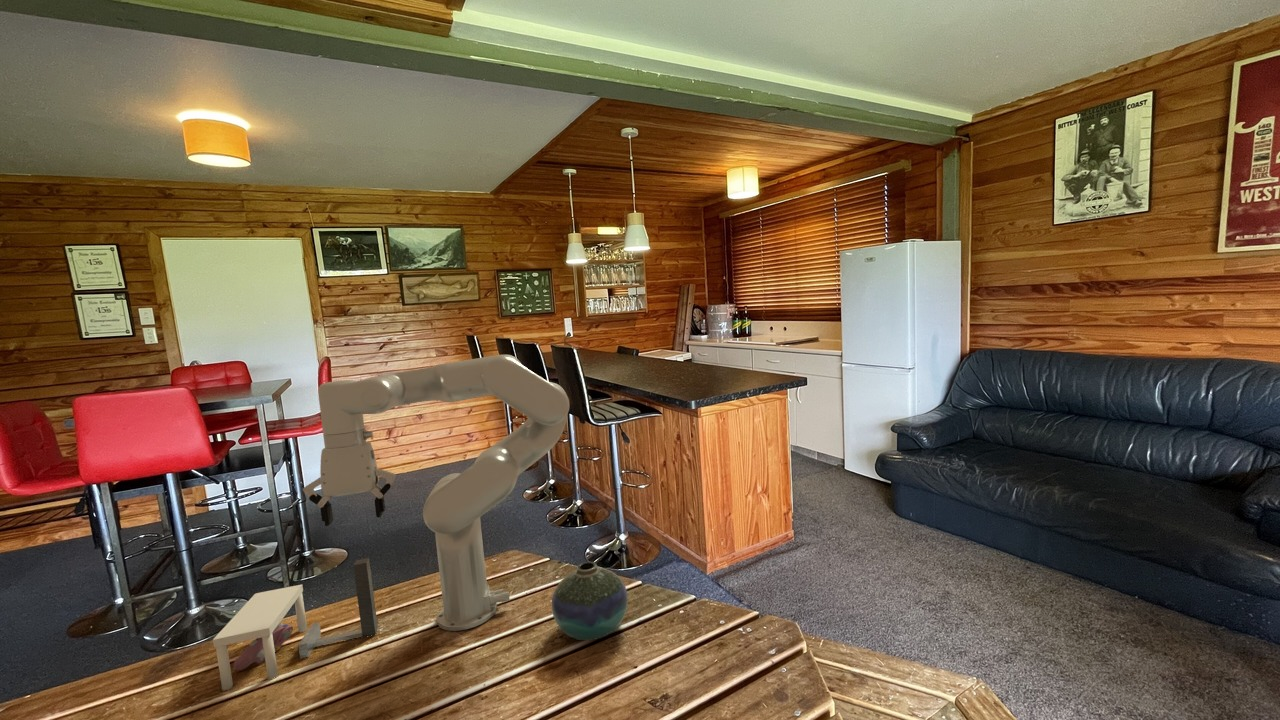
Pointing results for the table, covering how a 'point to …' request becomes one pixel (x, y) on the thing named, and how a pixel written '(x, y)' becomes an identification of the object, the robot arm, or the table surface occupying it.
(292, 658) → the table surface
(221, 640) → the low stool
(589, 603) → the vase
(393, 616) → the table surface
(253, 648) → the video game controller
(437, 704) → the table surface
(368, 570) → the scraper
